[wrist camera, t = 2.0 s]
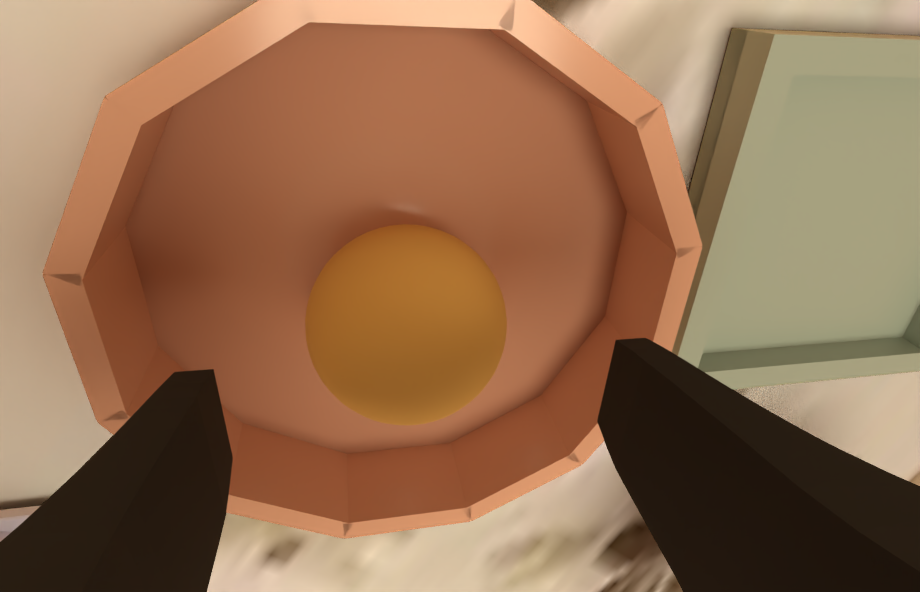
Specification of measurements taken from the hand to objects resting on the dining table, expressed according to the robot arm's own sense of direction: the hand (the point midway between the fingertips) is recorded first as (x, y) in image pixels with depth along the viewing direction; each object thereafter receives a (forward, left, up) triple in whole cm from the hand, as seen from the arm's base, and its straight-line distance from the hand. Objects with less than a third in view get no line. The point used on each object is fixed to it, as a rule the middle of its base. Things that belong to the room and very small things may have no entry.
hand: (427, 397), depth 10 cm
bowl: (0, 0, -5) cm, 5 cm away
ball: (0, 0, -3) cm, 3 cm away
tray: (+13, +1, -5) cm, 14 cm away
